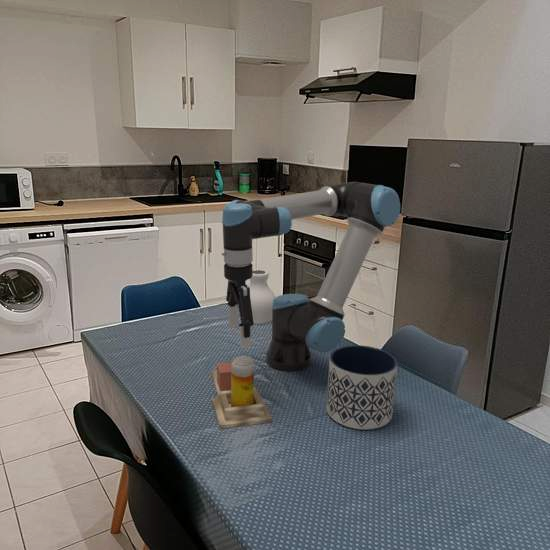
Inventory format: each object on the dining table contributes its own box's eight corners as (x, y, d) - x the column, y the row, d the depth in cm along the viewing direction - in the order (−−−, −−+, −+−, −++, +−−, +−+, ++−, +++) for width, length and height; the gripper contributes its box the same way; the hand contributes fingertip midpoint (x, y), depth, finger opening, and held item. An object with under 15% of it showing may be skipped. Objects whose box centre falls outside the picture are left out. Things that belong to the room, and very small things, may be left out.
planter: (352, 389, 158) (356, 339, 153) (404, 413, 145) (410, 360, 140) (312, 411, 145) (315, 357, 140) (366, 439, 133) (371, 382, 128)
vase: (236, 324, 205) (236, 275, 199) (244, 311, 219) (245, 265, 213) (272, 327, 203) (273, 278, 197) (278, 314, 217) (279, 268, 211)
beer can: (251, 416, 140) (253, 366, 136) (229, 414, 141) (230, 364, 136) (254, 403, 146) (255, 355, 141) (232, 402, 147) (233, 354, 142)
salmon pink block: (242, 378, 160) (242, 361, 158) (246, 388, 155) (246, 370, 153) (216, 381, 158) (216, 363, 156) (220, 391, 153) (220, 372, 151)
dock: (246, 369, 168) (247, 358, 167) (271, 422, 140) (271, 408, 138) (203, 374, 165) (203, 362, 163) (220, 428, 136) (219, 415, 135)
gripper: (214, 252, 147) (216, 321, 153) (235, 278, 124) (237, 358, 131) (240, 250, 149) (241, 318, 156) (265, 275, 127) (265, 354, 133)
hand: (239, 337), depth 143 cm, fingers open, 13 cm apart
